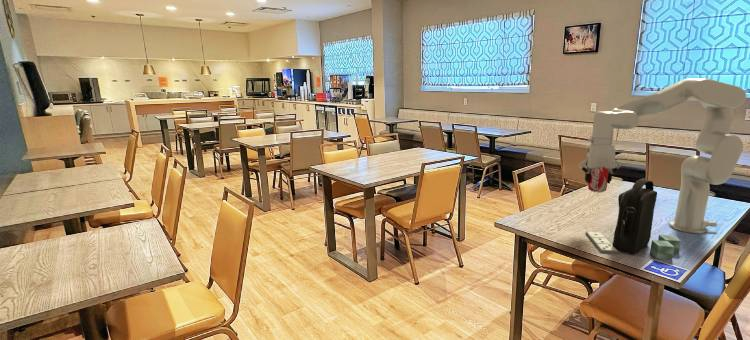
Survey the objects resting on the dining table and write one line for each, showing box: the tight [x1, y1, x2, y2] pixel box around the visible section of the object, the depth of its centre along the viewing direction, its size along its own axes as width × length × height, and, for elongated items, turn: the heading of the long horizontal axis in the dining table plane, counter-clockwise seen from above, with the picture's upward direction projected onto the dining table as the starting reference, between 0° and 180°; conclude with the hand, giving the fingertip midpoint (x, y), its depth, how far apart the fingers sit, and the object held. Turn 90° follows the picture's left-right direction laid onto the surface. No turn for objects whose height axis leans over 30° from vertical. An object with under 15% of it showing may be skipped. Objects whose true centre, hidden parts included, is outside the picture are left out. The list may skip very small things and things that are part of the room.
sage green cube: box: [649, 239, 674, 260], centre depth 139 cm, size 5×5×5 cm
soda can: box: [587, 165, 609, 193], centre depth 162 cm, size 7×7×12 cm
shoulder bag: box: [611, 177, 658, 256], centre depth 144 cm, size 23×9×28 cm, turn 129°
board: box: [585, 231, 619, 254], centre depth 151 cm, size 6×18×1 cm, turn 168°
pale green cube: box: [657, 234, 682, 254], centre depth 144 cm, size 5×5×5 cm
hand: (597, 182), depth 162 cm, fingers closed on soda can, 7 cm apart
